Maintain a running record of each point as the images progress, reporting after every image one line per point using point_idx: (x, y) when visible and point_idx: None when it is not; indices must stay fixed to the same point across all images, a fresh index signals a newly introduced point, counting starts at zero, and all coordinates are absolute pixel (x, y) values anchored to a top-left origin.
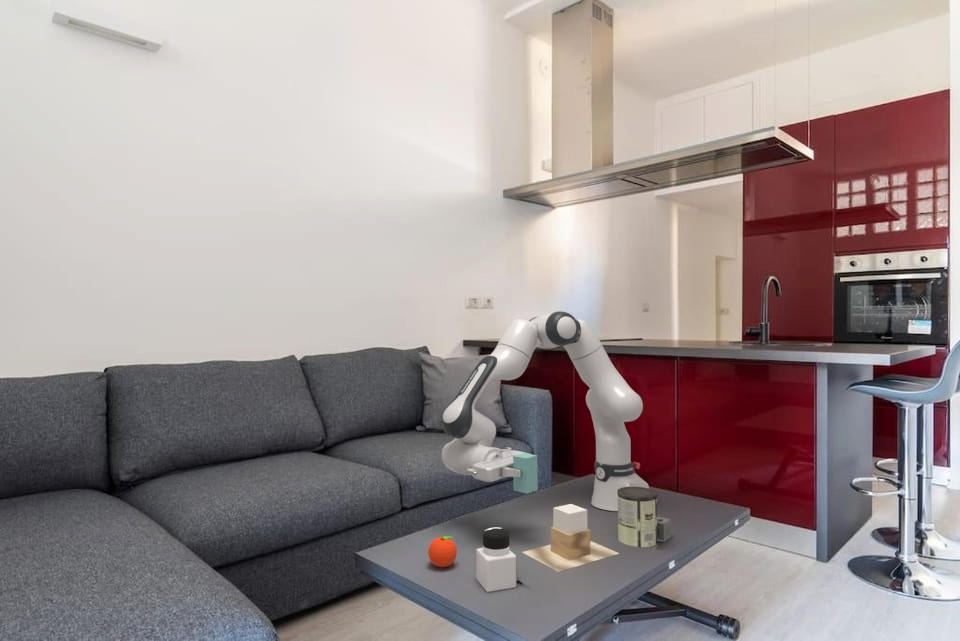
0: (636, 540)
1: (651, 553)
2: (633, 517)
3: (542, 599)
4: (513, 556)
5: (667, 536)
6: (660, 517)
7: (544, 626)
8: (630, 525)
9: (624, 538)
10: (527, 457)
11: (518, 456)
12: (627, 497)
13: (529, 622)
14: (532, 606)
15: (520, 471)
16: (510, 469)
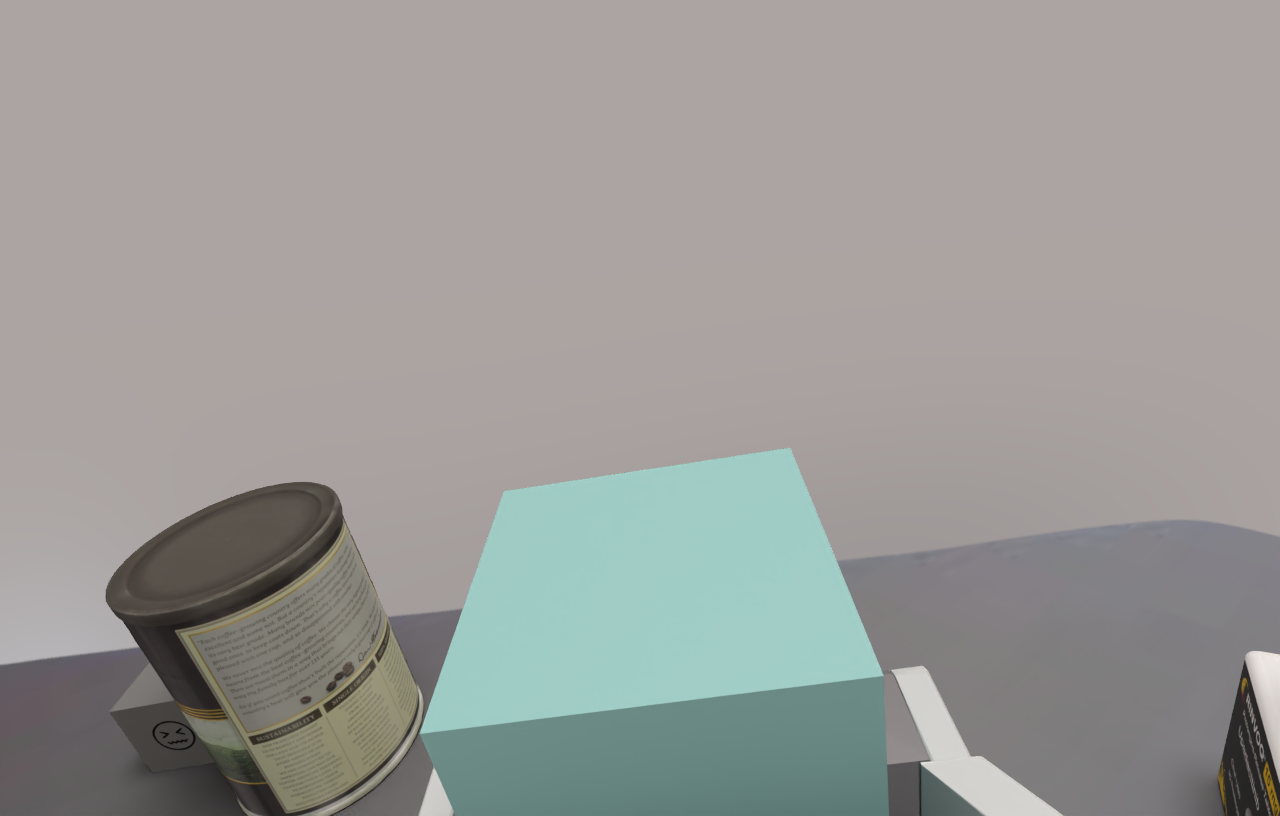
0: (406, 666)
1: (419, 659)
2: (372, 592)
3: (1118, 642)
4: (1271, 654)
5: None
6: (137, 680)
7: (1199, 537)
8: (383, 635)
9: (392, 715)
10: (728, 475)
11: (801, 583)
12: (330, 531)
13: (1255, 568)
14: (1194, 627)
15: (885, 672)
16: (1041, 802)
